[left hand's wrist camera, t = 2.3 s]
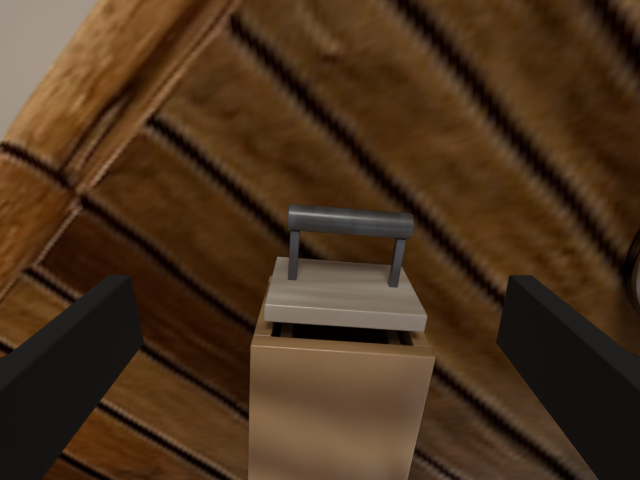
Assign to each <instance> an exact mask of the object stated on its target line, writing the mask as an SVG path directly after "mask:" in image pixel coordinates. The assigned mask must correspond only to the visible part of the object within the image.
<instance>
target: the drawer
mask: <svg viewBox="0 0 640 480" xmlns="http://www.w3.org/2000/svg"><path fill="white" fill-rule="evenodd" d="M287 229H288V230H291V232H290V249H289V258H287V257H277V260H276V264H275V267H274V271H273V275H272V278H271V282H270V286H269V290H268V293H267V297H266V301H265V304H264V321H270V322H282V328H281V334H280V337H286V338H301V339H316V340H331V341H346V342H361V343H376V344H391V345H401V343H400V340H399V337H398V334H397V331H396V330H403V331H417V332H424V330H425V325H426V320H427V314H426V312H425V310H424V308H423V306H422V305H421V303H420V301H419V299H418V297H417V295H416V293H415V291H414V289H413V287H412V285H411V284H410V282H409V280H408V278H407V276H406V274H405V272H404V270H403V268H402V260H403V255H404V249H405V243H406V239H410V238H411V236H412V234H413V229H414V218H413V215H412V214H411V213H398V212H386V211H373V210H360V209H348V208H335V207H322V206H310V205H297V204H289V209H288V221H287ZM300 231H310V232H323V233H336V234H349V235H362V236H375V237H388V238H395V243H394V250H393V256H392V262H391V265H382V264H368V263H354V262H341V261H327V260H314V259H300V258H298V253H299V238H300Z"/></svg>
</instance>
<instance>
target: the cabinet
mask: <svg viewBox="0 0 640 480" xmlns="http://www.w3.org/2000/svg"><path fill="white" fill-rule="evenodd" d="M271 278H272V276H270V278H269V282H268V286H267V289H266V293H265V296H264V300H263V303H262V307H261V311H260V314H259V318H258V321H257V325H256V328H255V332H254V336H253V339H252V343H251V351H250V401H249V450H248V480H407V479H408V474H409V470H410V466H411V461H412V457H413V453H414V448H415V444H416V440H417V435H418V431H419V427H420V422H421V418H422V414H423V410H424V405H425V401H426V397H427V392H428V388H429V384H430V379H431V375H432V371H433V366H434V362H435V356H434V353H433V351H432V349H431V348H430V345H429V342H428V340H427V338H426V336H425V334H424V332H417V331H403V330H396V331H397V334H398V337H399V340H400V343H401V345H391V344H376V343H361V342H346V341H331V340H316V339H301V338H286V337H280V334H281V328H282V322H270V321H264V304H265V301H266V297H267V293H268V290H269V286H270V282H271Z"/></svg>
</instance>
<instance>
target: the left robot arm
mask: <svg viewBox="0 0 640 480" xmlns="http://www.w3.org/2000/svg"><path fill="white" fill-rule="evenodd" d="M626 284H627V290H628V294H629V297H630V299H631V302H632V304H633V305H634V307H635V309H636V310H637V311H638V312H639V314H640V232H639V234H638V236H637V238H636V240H635V242H634V244H633V247H632V249H631V252H630V256H629V259H628V264H627V272H626ZM143 343H144V341H143V336H142V331H141V326H140V321H139V316H138V311H137V305H136V300H135V295H134V290H133V285H132V280H131V275H108V276H107V277H106V278H105V279H103V280H102V281H101V282H100V283H98V284H97V285H96V286H95V287H93V288H92V289H91V290H90V291H88V292H87V293H86V294H84V295H83V296H82V297H81V298H79V299H78V300H77V301H76V302H74V303H73V304H72V305H71V306H69V307H68V308H67V309H66V310H64V311H63V312H62V313H61V314H59V315H58V316H57V317H56V318H54V319H53V320H52V321H51V322H49V323H48V324H47V325H45V326H44V327H43V328H42V329H40V330H39V331H38V332H37V333H35V334H34V335H33V336H32V337H30V338H29V339H28V340H27V341H25V342H24V343H23V344H22V345H20V346H19V347H18V348H17V349H15V350H14V351H13V352H12V353H10V354H9V355H8V356H4V357H2V358H0V480H41V479H42V478H43V476H44V475H45V474H46V472H47V471H48V470H49V468H50V467H51V466H52V464H53V463H54V462H55V460H56V459H57V458H58V456H59V455H60V454H61V452H62V451H63V450H64V448H65V447H66V446H67V444H68V443H69V442H70V440H71V439H72V438H73V436H74V435H75V434H76V432H77V431H78V430H79V428H80V427H81V426H82V424H83V423H84V422H85V420H86V419H87V418H88V416H89V415H90V414H91V412H92V411H93V410H94V408H95V407H96V406H97V404H98V403H99V402H100V400H101V399H102V398H103V396H104V395H105V394H106V392H107V391H108V390H109V388H110V387H111V386H112V384H113V383H114V382H115V380H116V379H117V378H118V376H119V375H120V374H121V372H122V371H123V370H124V368H125V367H126V366H127V364H128V363H129V362H130V360H131V359H132V358H133V356H134V355H135V354H136V352H137V351H138V350H139V348H140V347H141V346H142V344H143ZM496 343H497V344H498V346H499V347H500V348H501V350H502V351H503V352H504V354H505V355H506V356H507V358H508V359H509V360H510V362H511V363H512V364H513V366H514V367H515V368H516V370H517V371H518V372H519V374H520V375H521V376H522V378H523V379H524V380H525V382H526V383H527V384H528V386H529V387H530V388H531V390H532V391H533V392H534V394H535V395H536V396H537V398H538V399H539V400H540V402H541V403H542V404H543V406H544V407H545V408H546V410H547V411H548V412H549V414H550V415H551V416H552V418H553V419H554V420H555V422H556V423H557V424H558V426H559V427H560V428H561V430H562V431H563V432H564V434H565V435H566V436H567V438H568V439H569V440H570V442H571V443H572V444H573V446H574V447H575V448H576V450H577V451H578V452H579V454H580V455H581V456H582V458H583V459H584V460H585V462H586V463H587V464H588V466H589V467H590V468H591V470H592V471H593V472H594V474H595V475H596V476H597V478H598V479H599V480H640V357H639V356H637V355H636V354H630V353H628V352H627V351H626V350H625V349H623V348H622V347H621V346H620V345H618V344H617V343H616V342H615V341H613V340H612V339H611V338H610V337H608V336H607V335H606V334H605V333H603V332H602V331H601V330H600V329H598V328H597V327H596V326H595V325H593V324H592V323H591V322H589V321H588V320H587V319H586V318H584V317H583V316H582V315H581V314H579V313H578V312H577V311H576V310H574V309H573V308H572V307H571V306H569V305H568V304H567V303H566V302H564V301H563V300H562V299H561V298H559V297H558V296H557V295H556V294H554V293H553V292H552V291H550V290H549V289H548V288H547V287H545V286H544V285H543V284H542V283H540V282H539V281H538V280H537V279H535V278H534V277H533V276H532V275H509V280H508V285H507V290H506V295H505V300H504V305H503V311H502V316H501V321H500V326H499V331H498V336H497V341H496Z"/></svg>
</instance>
